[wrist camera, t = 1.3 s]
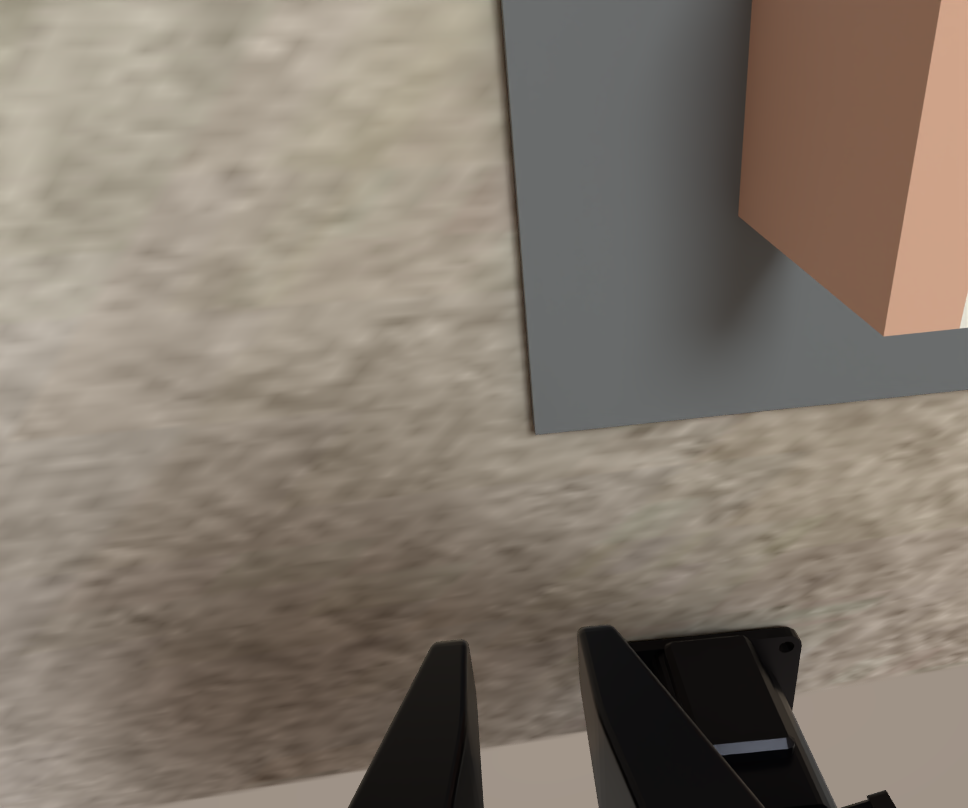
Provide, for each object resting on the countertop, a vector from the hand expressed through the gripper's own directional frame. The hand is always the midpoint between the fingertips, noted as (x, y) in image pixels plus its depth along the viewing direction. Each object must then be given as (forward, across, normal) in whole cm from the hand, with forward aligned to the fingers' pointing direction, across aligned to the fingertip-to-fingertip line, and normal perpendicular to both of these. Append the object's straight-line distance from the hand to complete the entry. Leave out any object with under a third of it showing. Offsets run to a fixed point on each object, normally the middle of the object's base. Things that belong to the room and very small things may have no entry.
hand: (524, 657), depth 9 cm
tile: (+11, -7, -5) cm, 14 cm away
